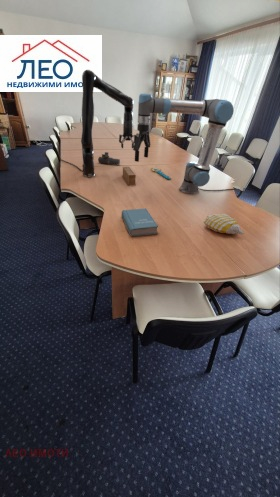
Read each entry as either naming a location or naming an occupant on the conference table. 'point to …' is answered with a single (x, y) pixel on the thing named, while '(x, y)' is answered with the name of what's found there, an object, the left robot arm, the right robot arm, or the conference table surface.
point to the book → (139, 222)
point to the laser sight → (108, 159)
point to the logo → (160, 173)
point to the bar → (129, 175)
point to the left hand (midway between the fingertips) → (127, 148)
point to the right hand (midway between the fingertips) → (141, 159)
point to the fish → (223, 224)
